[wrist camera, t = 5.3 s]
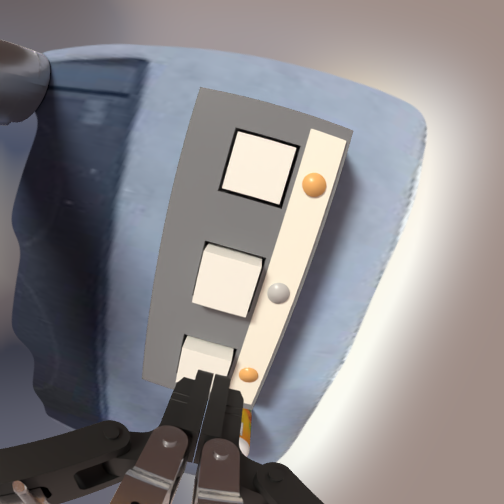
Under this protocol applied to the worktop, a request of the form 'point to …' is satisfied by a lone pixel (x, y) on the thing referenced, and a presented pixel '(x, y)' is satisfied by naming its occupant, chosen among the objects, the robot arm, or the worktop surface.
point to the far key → (203, 358)
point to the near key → (258, 167)
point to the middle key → (227, 279)
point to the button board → (240, 235)
